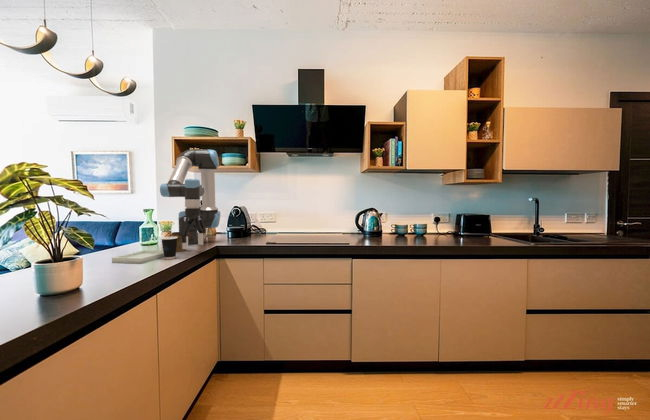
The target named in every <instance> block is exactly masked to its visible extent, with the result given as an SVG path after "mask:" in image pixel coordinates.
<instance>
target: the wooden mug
mask: <svg viewBox="0 0 650 420" xmlns="http://www.w3.org/2000/svg"><path fill="white" fill-rule="evenodd" d="M187 236H188V240H189V239H190V233H189V232H188V234H187ZM170 237H178V238H177V248H176V253H184V252H186V251H187V250H188V249H183V248H182V237H181V236H179V231H174V232H171V235H170Z"/></svg>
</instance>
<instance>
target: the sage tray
mask: <svg viewBox="0 0 650 420" xmlns="http://www.w3.org/2000/svg"><path fill="white" fill-rule="evenodd" d="M163 258H164V259H165V257H164V253H163V250H149V249H147V250H146V249H145V250H139V251H136V252H131V253H126V254H122V255H117V256H114V257H111V263H113V264H139V265H142V264H146V263H150V262H153V261H157V260H160V259H163Z"/></svg>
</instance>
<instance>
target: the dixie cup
mask: <svg viewBox="0 0 650 420" xmlns="http://www.w3.org/2000/svg"><path fill="white" fill-rule="evenodd" d="M177 238H178V237H171V236H166V237H164V236H163V237H161V238H160V240H161V246H162V251H163V253H164V260H171V259H176V256H177V252H176V248H177Z"/></svg>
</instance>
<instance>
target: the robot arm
mask: <svg viewBox="0 0 650 420" xmlns="http://www.w3.org/2000/svg"><path fill="white" fill-rule="evenodd" d="M192 167H197V169H198V171H199V172H200V179H196V178H186V177H187V174H188V172H189V170H190V169H191V168H192ZM219 167H220V160H219V156H218V153H217V151H216V150H214V149H202V148H201V149H200V148H199V149H196V148H192V149H191V148H190V149H187V150H184V151H183V152H181V153H180V154H179V155H178V156H177V158H176V159H175V166H174V168H173V170H172V173H171V175H170V177H169V179H168V181H167V183H161V185H160V186H159V192H160V195H161V197H164V198H184V207H185V208H184V210H183V211H179V212H178V217H177V219H178V232H179V236H181V237H182V248H183V249H187V250H189V245H191V246H192V245H197V246H203V245H204V234H205V233H206V230H207V229H215V228H218V227H219V225H220V222H221V211H219V208H218V207H217V206H216V183H215V182H216V179H215V177H216V176H215V175H216V174H215V172H217V169H218V168H219ZM188 232H189V233H190V239H189V240H188V236H187V234H188Z"/></svg>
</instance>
